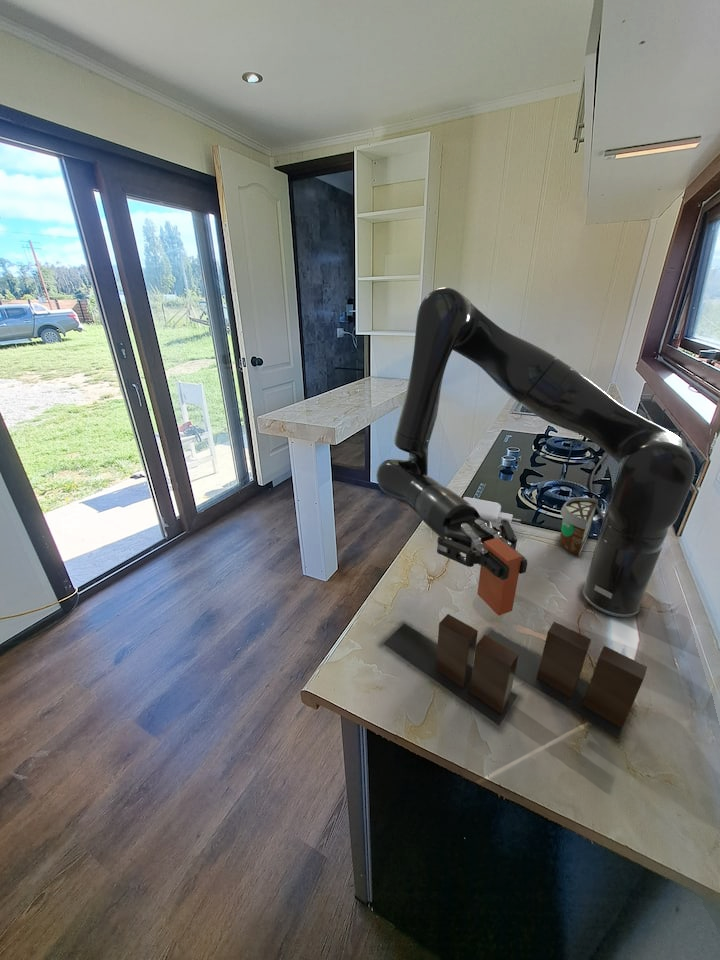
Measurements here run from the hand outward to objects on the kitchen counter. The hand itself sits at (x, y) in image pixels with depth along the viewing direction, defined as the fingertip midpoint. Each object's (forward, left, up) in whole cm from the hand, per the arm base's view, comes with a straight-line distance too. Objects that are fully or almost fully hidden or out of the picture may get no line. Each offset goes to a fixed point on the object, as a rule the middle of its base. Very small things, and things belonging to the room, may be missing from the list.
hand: (515, 570), depth 52 cm
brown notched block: (-4, +7, -20) cm, 22 cm away
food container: (-44, -3, -20) cm, 48 cm away
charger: (-39, -21, -20) cm, 48 cm away
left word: (+5, -6, -20) cm, 22 cm away
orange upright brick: (-1, -3, -8) cm, 9 cm away
